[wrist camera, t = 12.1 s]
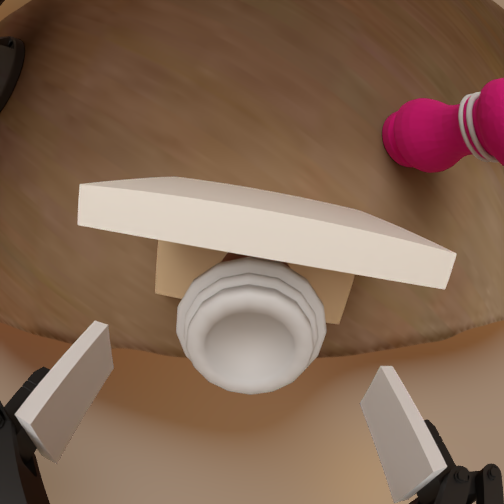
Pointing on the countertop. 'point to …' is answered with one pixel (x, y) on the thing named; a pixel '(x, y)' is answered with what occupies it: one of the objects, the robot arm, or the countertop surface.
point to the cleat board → (260, 235)
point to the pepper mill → (448, 130)
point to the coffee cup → (251, 324)
